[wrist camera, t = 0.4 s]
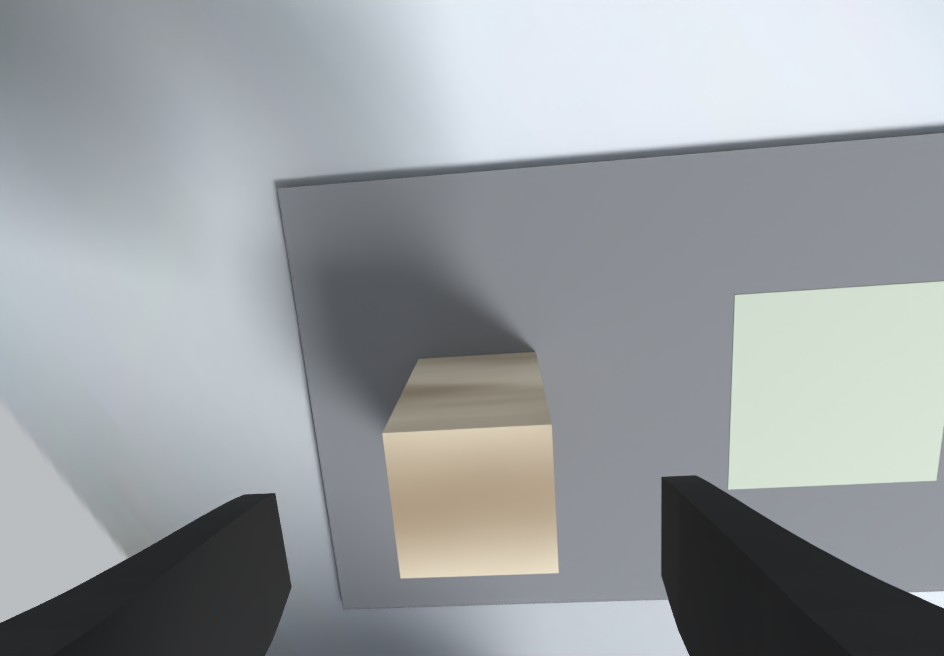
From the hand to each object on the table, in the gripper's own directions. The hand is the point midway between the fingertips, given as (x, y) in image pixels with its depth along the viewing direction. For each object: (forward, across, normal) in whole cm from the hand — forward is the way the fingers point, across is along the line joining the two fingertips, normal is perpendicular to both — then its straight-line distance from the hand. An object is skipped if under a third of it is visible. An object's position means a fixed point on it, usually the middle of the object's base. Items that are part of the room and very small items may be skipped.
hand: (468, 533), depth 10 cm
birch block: (+9, 0, +1) cm, 9 cm away
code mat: (+9, -6, +1) cm, 11 cm away
